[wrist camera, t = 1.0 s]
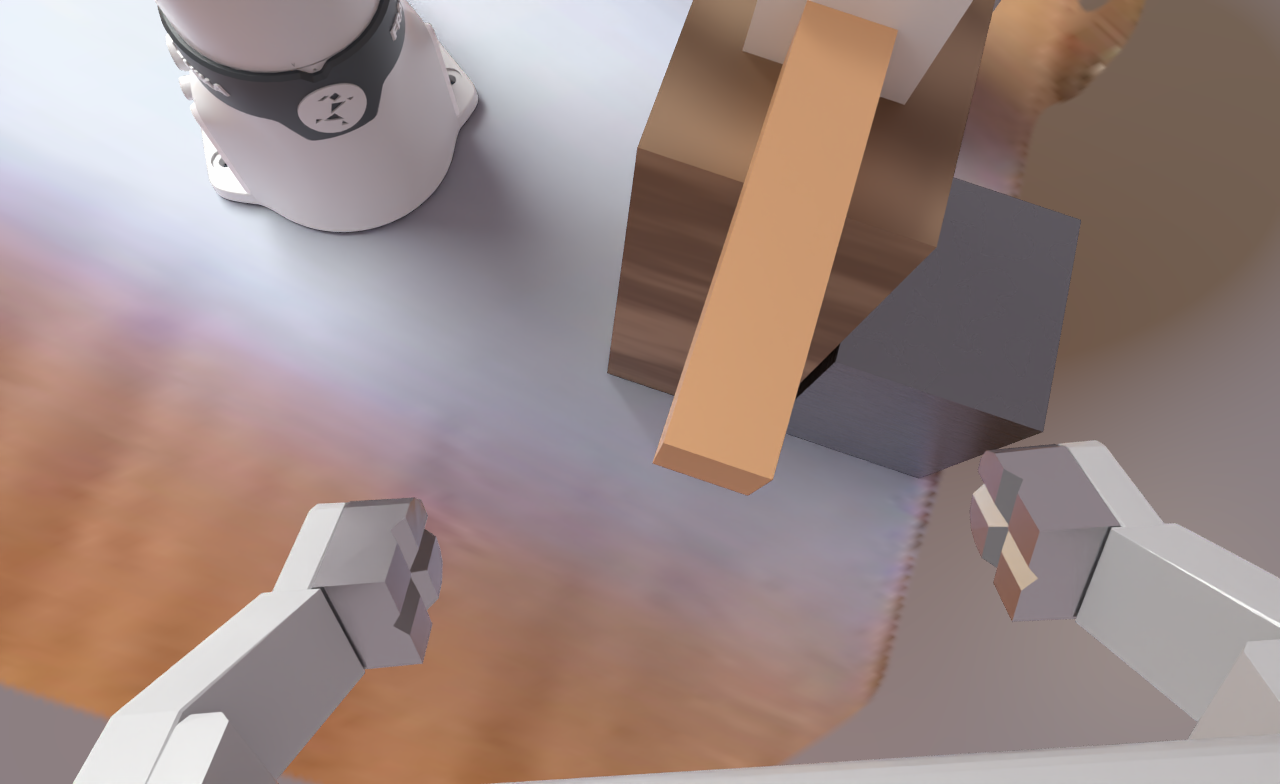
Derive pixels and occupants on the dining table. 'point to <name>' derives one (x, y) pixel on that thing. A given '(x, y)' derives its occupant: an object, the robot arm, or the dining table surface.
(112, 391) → the dining table surface
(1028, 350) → the block
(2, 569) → the dining table surface
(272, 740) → the robot arm
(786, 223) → the wooden handled mallet
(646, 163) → the tall wood-grain pillar
